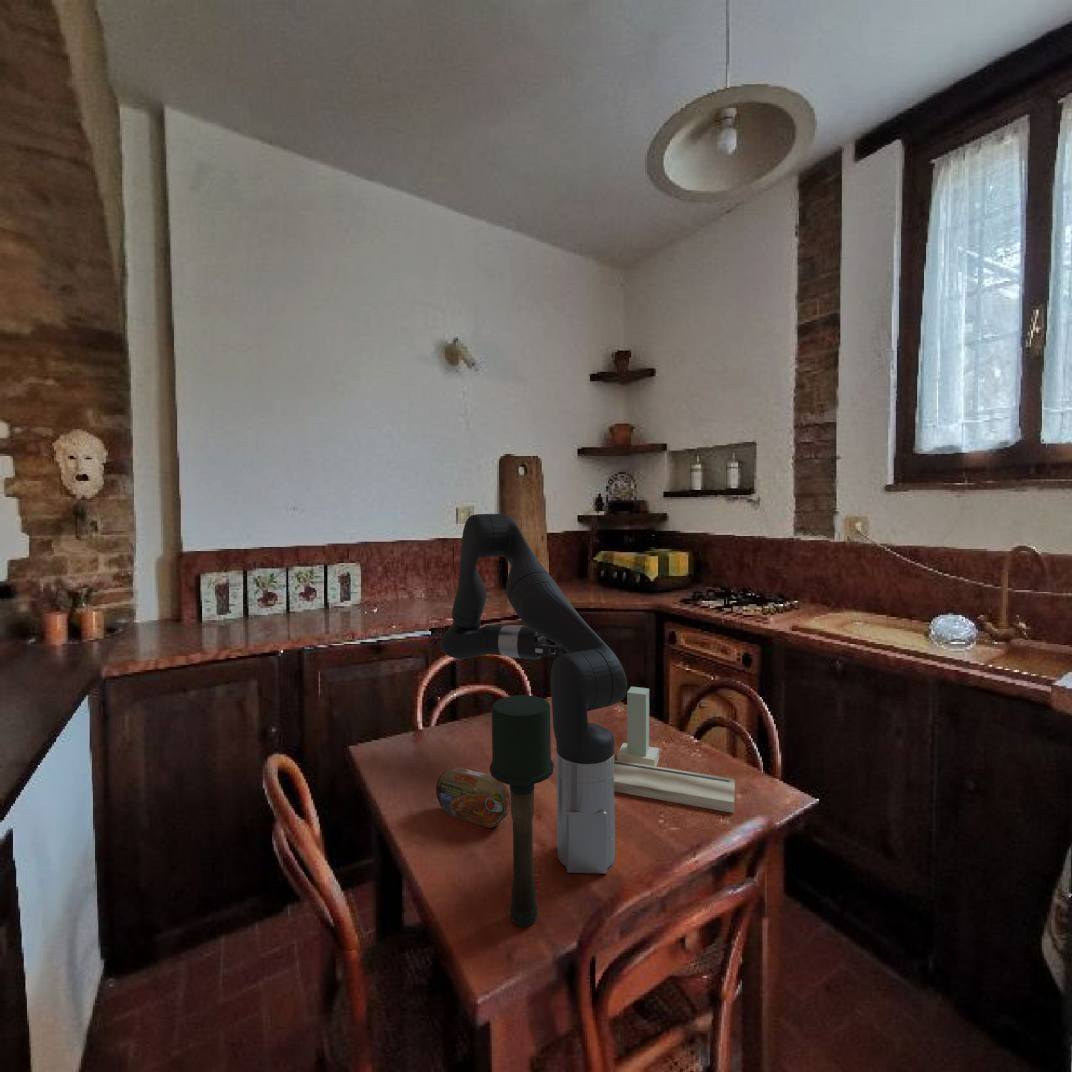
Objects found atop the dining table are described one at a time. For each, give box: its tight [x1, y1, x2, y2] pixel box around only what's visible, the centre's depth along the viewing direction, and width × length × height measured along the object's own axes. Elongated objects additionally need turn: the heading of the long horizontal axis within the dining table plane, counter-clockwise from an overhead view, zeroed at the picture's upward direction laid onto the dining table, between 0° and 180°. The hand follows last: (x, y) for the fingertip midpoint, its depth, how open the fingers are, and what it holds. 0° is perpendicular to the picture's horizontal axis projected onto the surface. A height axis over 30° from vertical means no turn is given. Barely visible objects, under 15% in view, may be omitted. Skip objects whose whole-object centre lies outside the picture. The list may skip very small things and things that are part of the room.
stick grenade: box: [489, 694, 555, 928], centre depth 74 cm, size 8×9×30 cm
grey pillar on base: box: [616, 686, 660, 767], centre depth 119 cm, size 6×8×16 cm
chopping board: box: [614, 759, 736, 814], centre depth 108 cm, size 9×26×2 cm, turn 69°
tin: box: [435, 766, 511, 828], centre depth 99 cm, size 15×3×8 cm, turn 61°
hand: (588, 646), depth 122 cm, fingers open, 8 cm apart
